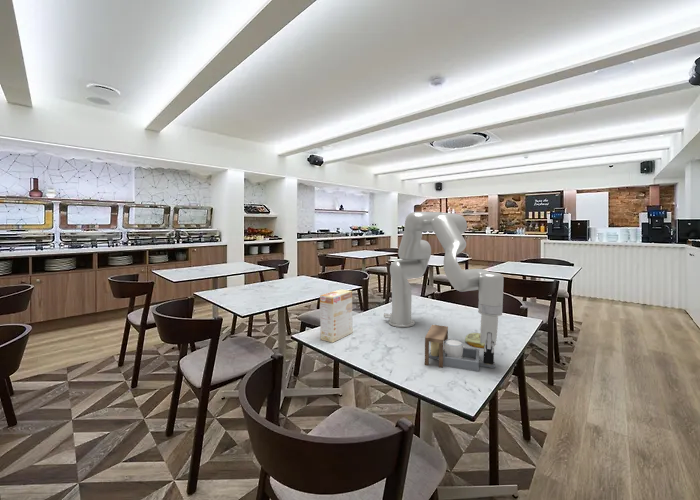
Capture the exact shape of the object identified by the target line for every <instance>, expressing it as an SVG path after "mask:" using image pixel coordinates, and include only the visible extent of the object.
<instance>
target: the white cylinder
mask: <svg viewBox="0 0 700 500" xmlns="http://www.w3.org/2000/svg"><path fill="white" fill-rule="evenodd" d="M464 346H465V345H464V342H463V341H462V340H458V339H454V338H453V339H450V338H448V340H445V341H444V342H443V351H445V353H446V357H452V358H459V359H463V356H462V355H463V347H464Z"/></svg>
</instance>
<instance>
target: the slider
mask: <svg viewBox="0 0 700 500" xmlns="http://www.w3.org/2000/svg"><path fill="white" fill-rule="evenodd" d="M491 347H492V346H491ZM480 349H481V348H473V347H472V348H471V347H463V355H462V357H465V358H466V357H467V358H474V359H475V360H471V359H465V358H462V359H459V358H452V357H446V353H445V351H444V350H443V367H450V368H456V369H462V370H467V371H468V370H469V371H474V372H479V371H480V370H479V369H480V367H484V368H490V369H495V368H496V365H495V364H496V363H495V361H494V364H487V363H484V362H483V359H480ZM484 350H485V346H484V348H483V351H484ZM493 352H494V353H495V348H494V346H493ZM429 359H431V360H432V359H433V360H438V361H439V343H437V342H430V351H429Z"/></svg>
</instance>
